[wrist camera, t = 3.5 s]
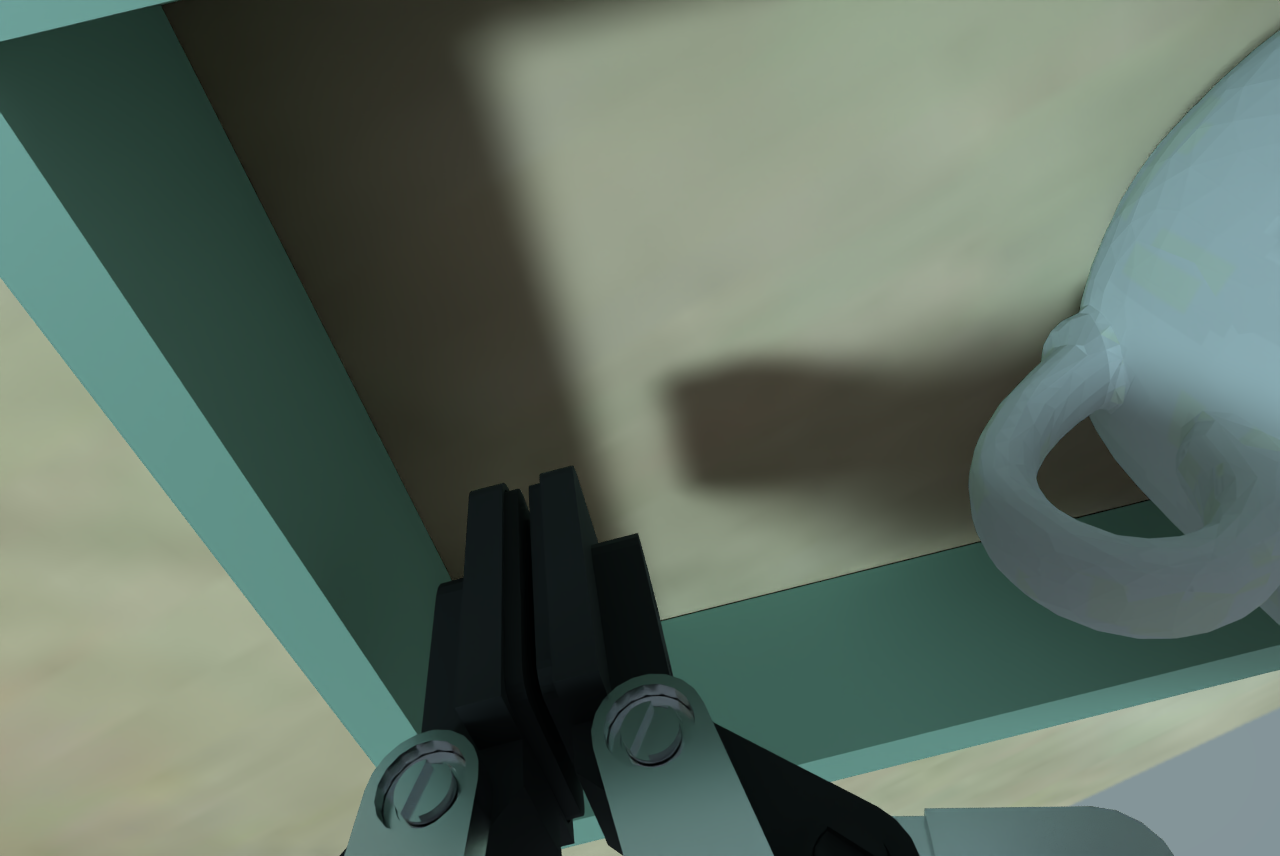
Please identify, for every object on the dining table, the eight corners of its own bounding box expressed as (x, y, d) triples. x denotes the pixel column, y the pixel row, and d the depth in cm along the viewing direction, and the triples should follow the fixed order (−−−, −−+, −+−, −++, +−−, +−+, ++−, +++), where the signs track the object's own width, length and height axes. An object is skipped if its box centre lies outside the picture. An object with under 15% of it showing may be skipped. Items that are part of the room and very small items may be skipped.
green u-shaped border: (40, -65, 9) (-256, -58, 6) (1922, -513, 10) (2785, -780, 6) (468, 694, 19) (458, 874, 16) (1393, 465, 20) (1597, 590, 16)
